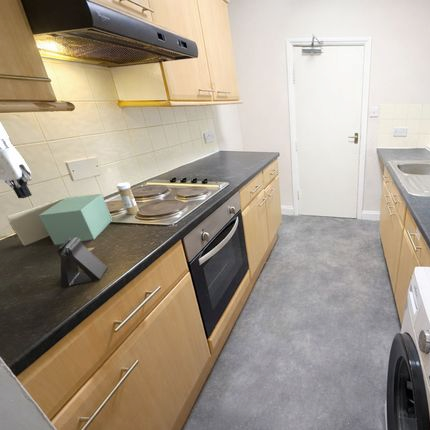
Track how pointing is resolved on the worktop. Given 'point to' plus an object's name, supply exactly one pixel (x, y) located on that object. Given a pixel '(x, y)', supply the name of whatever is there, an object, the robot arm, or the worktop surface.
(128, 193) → the sprinkles bottle
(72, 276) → the phone stand
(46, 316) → the worktop surface
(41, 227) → the door
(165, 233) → the worktop surface
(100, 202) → the teal rectangular block
